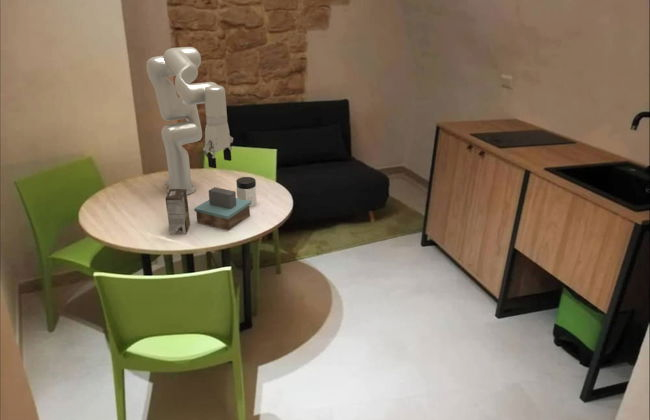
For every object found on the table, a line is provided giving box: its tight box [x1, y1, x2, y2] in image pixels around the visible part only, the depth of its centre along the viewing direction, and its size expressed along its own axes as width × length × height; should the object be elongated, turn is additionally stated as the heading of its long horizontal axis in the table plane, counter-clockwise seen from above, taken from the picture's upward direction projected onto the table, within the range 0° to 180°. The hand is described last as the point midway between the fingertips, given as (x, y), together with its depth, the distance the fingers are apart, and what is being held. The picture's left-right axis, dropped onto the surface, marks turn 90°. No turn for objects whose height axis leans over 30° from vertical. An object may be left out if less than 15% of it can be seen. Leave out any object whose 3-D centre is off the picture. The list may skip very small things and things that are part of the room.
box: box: [195, 206, 251, 231], centre depth 198 cm, size 15×15×6 cm
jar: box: [236, 176, 257, 208], centre depth 210 cm, size 9×8×12 cm
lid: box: [193, 186, 251, 219], centre depth 195 cm, size 16×16×7 cm
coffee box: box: [165, 189, 191, 235], centre depth 187 cm, size 9×6×16 cm
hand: (220, 163), depth 188 cm, fingers open, 9 cm apart
